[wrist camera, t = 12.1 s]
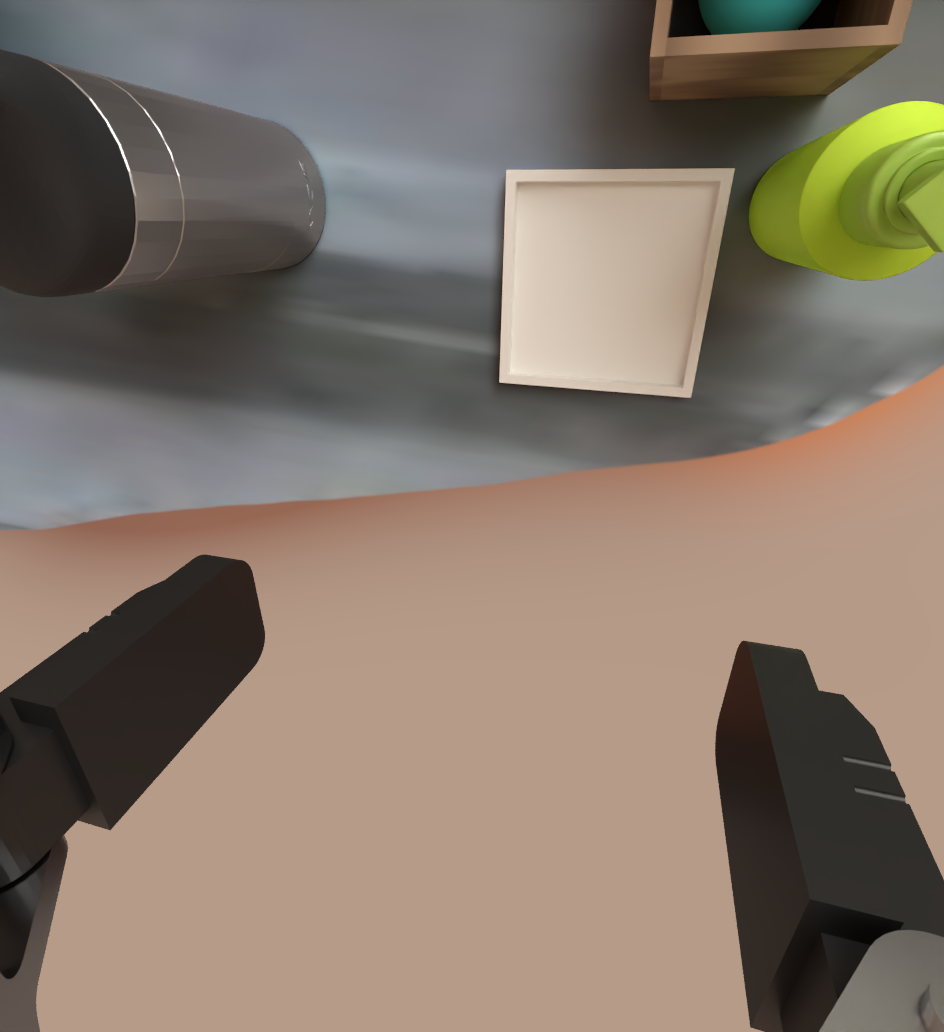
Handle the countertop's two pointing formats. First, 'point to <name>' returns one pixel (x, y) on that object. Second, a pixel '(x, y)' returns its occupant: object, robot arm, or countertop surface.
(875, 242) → the soap dispenser
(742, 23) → the ball
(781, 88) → the box
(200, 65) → the countertop surface
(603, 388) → the dish
